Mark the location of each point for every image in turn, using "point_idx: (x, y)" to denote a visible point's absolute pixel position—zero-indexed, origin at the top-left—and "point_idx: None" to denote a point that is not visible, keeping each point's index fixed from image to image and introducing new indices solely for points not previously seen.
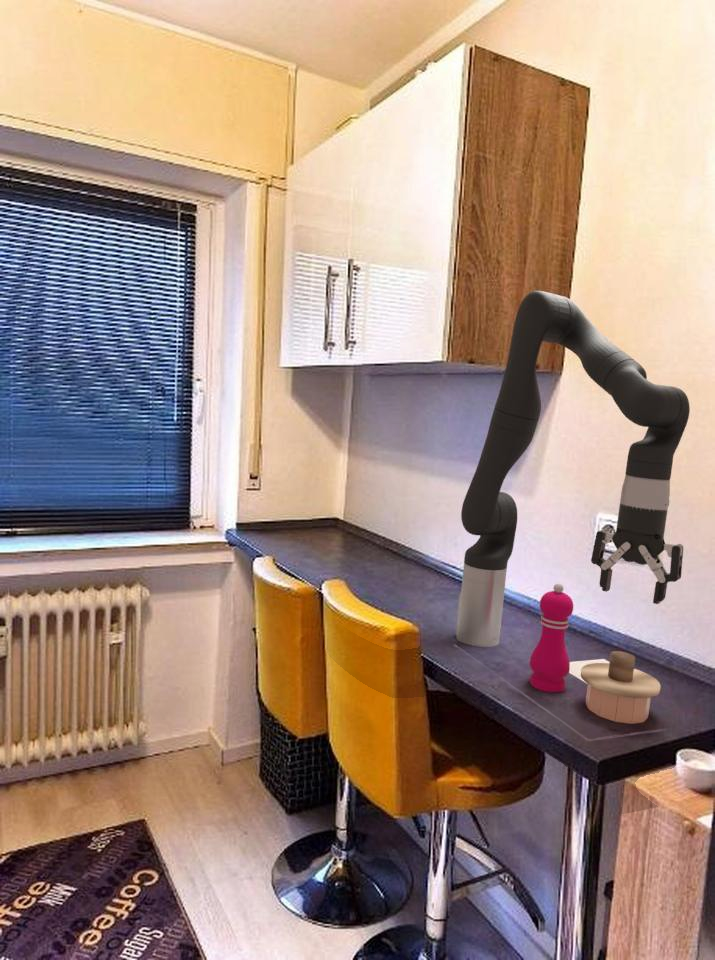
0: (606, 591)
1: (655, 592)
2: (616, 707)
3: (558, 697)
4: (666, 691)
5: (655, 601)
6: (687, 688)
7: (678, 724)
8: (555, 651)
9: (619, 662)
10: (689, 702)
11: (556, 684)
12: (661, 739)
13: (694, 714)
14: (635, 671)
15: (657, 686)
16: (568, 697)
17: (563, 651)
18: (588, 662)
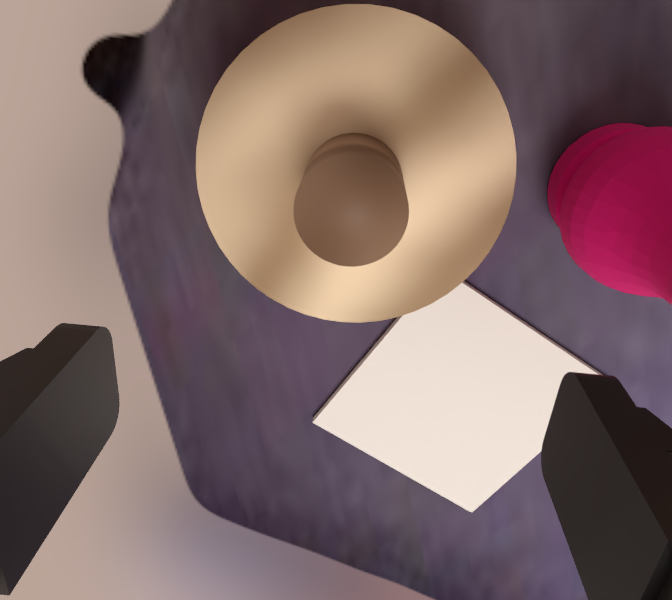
0: (562, 379)
1: (37, 379)
2: None
3: (556, 125)
4: (269, 414)
5: (74, 328)
6: (229, 469)
7: (175, 202)
8: (663, 184)
9: (353, 150)
10: (198, 382)
11: (584, 155)
12: (179, 35)
13: (162, 309)
14: (319, 295)
15: (210, 197)
16: (523, 153)
17: (625, 222)
18: (509, 460)
